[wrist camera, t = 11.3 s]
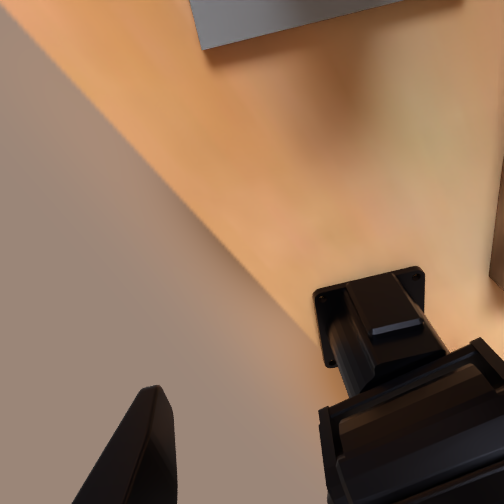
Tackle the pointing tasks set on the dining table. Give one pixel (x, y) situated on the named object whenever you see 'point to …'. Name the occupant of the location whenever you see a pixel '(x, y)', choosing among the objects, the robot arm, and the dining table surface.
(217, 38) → the mat
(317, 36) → the dining table surface
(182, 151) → the dining table surface
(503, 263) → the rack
